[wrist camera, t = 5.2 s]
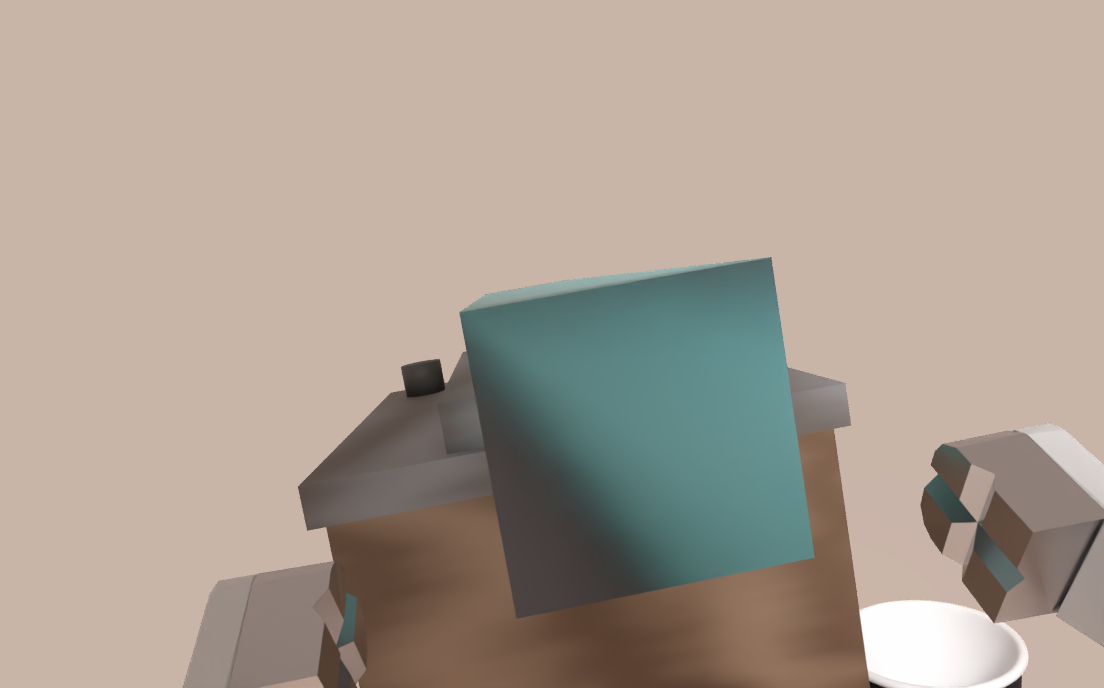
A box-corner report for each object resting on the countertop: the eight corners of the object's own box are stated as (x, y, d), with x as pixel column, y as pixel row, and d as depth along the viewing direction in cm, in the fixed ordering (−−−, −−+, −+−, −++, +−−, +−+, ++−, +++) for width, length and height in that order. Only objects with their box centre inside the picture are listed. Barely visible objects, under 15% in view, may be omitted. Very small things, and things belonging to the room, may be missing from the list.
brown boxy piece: (477, 1337, 21) (286, 435, 19) (484, 871, 38) (385, 365, 36) (959, 1206, 22) (838, 333, 20) (757, 809, 39) (679, 312, 37)
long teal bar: (516, 618, 9) (459, 312, 9) (500, 375, 35) (485, 294, 35) (814, 558, 9) (770, 257, 9) (580, 360, 35) (566, 280, 35)
